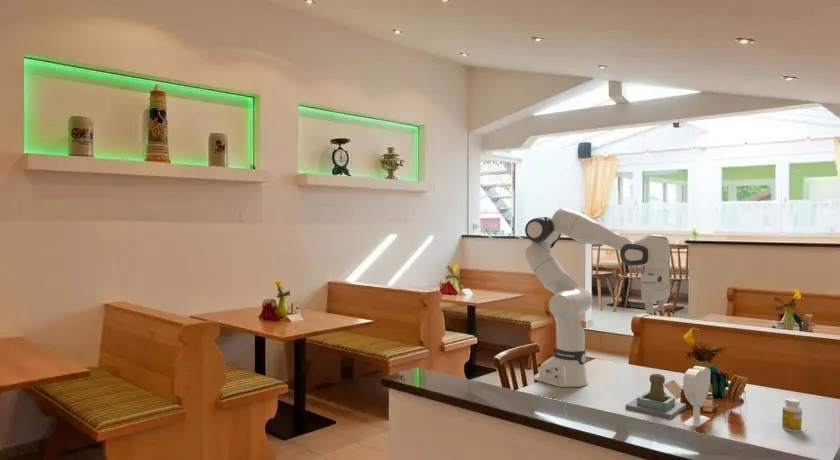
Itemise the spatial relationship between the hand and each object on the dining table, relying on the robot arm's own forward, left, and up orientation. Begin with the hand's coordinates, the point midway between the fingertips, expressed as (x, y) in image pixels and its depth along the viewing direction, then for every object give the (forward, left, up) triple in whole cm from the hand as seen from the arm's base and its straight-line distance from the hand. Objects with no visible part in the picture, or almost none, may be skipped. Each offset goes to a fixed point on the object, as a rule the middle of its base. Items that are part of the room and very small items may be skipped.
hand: (655, 311), depth 233 cm
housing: (+6, -16, -33) cm, 37 cm away
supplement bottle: (+47, -7, -33) cm, 58 cm away
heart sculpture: (+21, -20, -33) cm, 44 cm away
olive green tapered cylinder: (+7, -16, -31) cm, 36 cm away
